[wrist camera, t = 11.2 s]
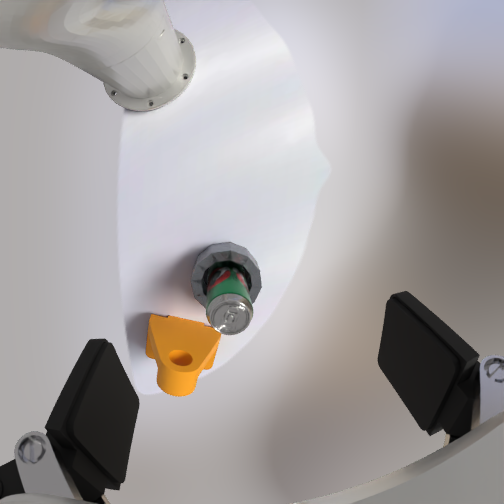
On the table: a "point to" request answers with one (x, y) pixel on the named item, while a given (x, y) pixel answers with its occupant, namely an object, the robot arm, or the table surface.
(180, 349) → the bracket
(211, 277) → the soda can
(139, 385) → the table surface
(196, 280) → the rosette ring
